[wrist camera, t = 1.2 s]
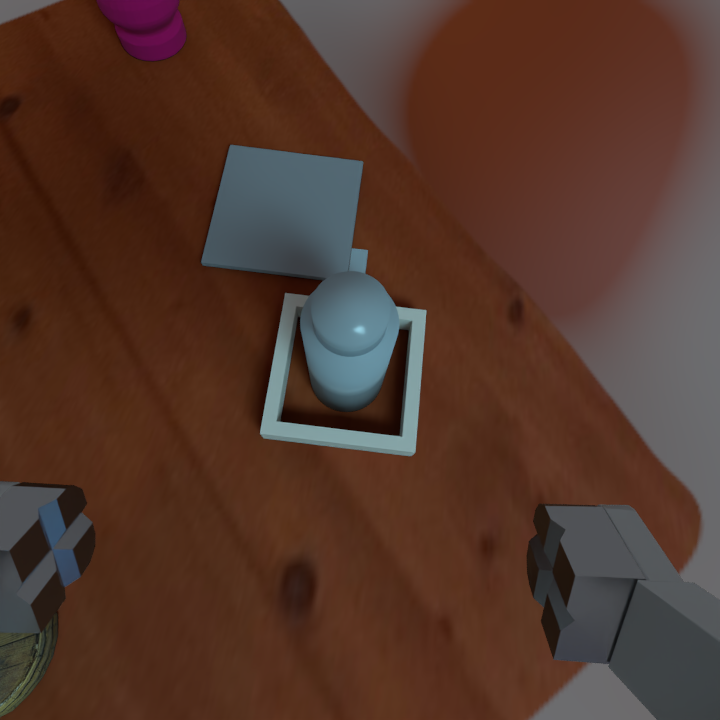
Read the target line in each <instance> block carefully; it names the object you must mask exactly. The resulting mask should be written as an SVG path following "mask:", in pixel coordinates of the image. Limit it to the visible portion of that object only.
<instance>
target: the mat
mask: <svg viewBox="0 0 720 720" xmlns="http://www.w3.org/2000/svg"><path fill="white" fill-rule="evenodd" d="M362 168H363V161H355V160H347V159H340V158H332V157H324V156H316V155H308V154H300V153H292V152H284V151H276V150H268V149H260V148H252V147H244V146H236V145H230V148H229V152H228V156H227V160H226V164H225V168H224V172H223V176H222V180H221V184H220V188H219V192H218V196H217V200H216V204H215V208H214V212H213V216H212V220H211V224H210V228H209V232H208V236H207V240H206V244H205V248H204V252H203V256H202V260H201V263H202V265H203V266H212V267H220V268H228V269H236V270H244V271H252V272H260V273H268V274H276V275H284V276H292V277H300V278H308V279H316V280H325V279H326V278H328V277H330V276H331V275H334V274H336V273H340V272H345V271H348V269H349V262H350V255H351V248H352V240H353V233H354V226H355V219H356V211H357V204H358V197H359V190H360V182H361V175H362Z"/></svg>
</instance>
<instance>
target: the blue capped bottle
mask: <svg viewBox="0 0 720 720" xmlns="http://www.w3.org/2000/svg"><path fill="white" fill-rule="evenodd" d="M367 255H368V250H361V249H353V248H352V252H351V259H350V266H349V271H345V272H340V273H336V274H334V275H331V276H330V277H328V278H326V279H325V280H324V281H322V283H321V284H320V285H319V286H318V287H317V288H316V289H315V290H314V291H313V292H312V293H311V295H310V296H309V297H308V299H307V300H306V302H305V304H304V306H303V309H302V312H301V318H300V328H301V333H302V338H303V344H304V349H305V354H306V359H307V364H308V370H309V375H310V380H311V385H312V388H313V391H314V393H315V395H316V396H317V398H318V399H319V400H320V401H321V402H322V403H323V404H324V405H326V406H327V407H329V408H331V409H333V410H336V411H340V412H353V411H357V410H360V409H363V408H365V407H366V406H368V405H369V404H370V403H371V402H373V400H374V399H375V398H376V397H377V395H378V394H379V391H380V389H381V386H382V383H383V380H384V377H385V373H386V370H387V367H388V364H389V361H390V358H391V355H392V352H393V348H394V345H395V342H396V339H397V336H398V332H399V315H398V311H397V308H396V306H395V304H394V302H393V300H392V299H391V297H390V296H389V295H388V294H387V292H386V290H385V289H384V287H383V286H382V285H381V284H380V283H379V282H378V281H377V280H376V279H374V278H373V277H371V276H369V275H367V274H365V273H366V264H367Z"/></svg>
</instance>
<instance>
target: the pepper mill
mask: <svg viewBox="0 0 720 720" xmlns="http://www.w3.org/2000/svg"><path fill="white" fill-rule="evenodd" d="M96 1H97V3H98V6H99V8H100V10H101V11H102V13H103V14H104V15H105V16H106V17H107V18H108V19H109V20H110V21H111V22H112V23H114V24H115V30H116V32H117V35H118V37H119V39H120V41H121V44H122V46H123V47H124V49H125V50H126V51H127V52H128V53H129V54H130V55H132V56H133V57H135V58H137V59H141V60H144V61H159V60H164V59H167V58H169V57H171V56H173V55H175V54H176V53H177V52H178V51H179V50H180V49H181V48H182V47H183V45H184V43H185V41H186V30H185V27H184V23H183V20H182V17H181V14H180V12H179V11H178V9H177V8H178V5H179V0H96Z"/></svg>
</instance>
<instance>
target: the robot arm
mask: <svg viewBox="0 0 720 720" xmlns="http://www.w3.org/2000/svg"><path fill="white" fill-rule="evenodd" d="M86 505H87V502H86V499H85V496H84V493H83V490H82V489H81V488H79V487H77V486H74V485H60V484H44V483H28V482H22V483H18V482H4V481H0V633H42V632H43V630H44V629H45V627H46V626H47V624H48V623H49V622H50V620H51V619H52V617H53V616H54V614H55V613H56V612H57V610H58V609H59V607H60V606H61V604H62V603H63V602H64V600H65V599H66V596H65V586H67V585H69V584H70V583H72V582H73V581H75V580H76V579H78V578H79V577H81V576H82V574H83V573H84V571H85V569H86V568H87V566H88V565H89V563H90V561H91V558H92V555H93V552H94V549H95V530H94V526H93V523H92V522H91V521H90V520H89V519H88V518H87V517H86V516H85V515H84V514H83V513H82V511H83V509H84V508H85V506H86ZM533 523H534V526H535V528H536V531H537V534H536V535H535V536H534V537H533V538H532V539H531V540H530V541H529V544H528V550H527V575H528V580H529V585H530V588H531V592H532V595H533V598H534V599H535V600H536V601H538V602H539V603H540V604H541V605H542V606H543V607H544V610H543V614H542V619H541V623H542V626H543V629H544V632H545V635H546V638H547V641H548V644H549V647H550V650H551V653H552V656H553V659H554V660H565V661H578V662H590V663H603V664H609V668H610V669H611V670H612V671H613V672H614V673H615V675H616V676H617V677H618V678H619V679H620V680H621V681H622V682H623V683H624V684H625V685H626V686H627V688H628V689H629V690H630V691H631V692H632V693H633V694H634V695H635V696H636V697H637V698H638V699H639V701H641V703H642V704H643V705H644V706H645V707H646V708H647V709H648V710H649V711H650V713H651V714H652V715H653V716H654V717H655V718H656V719H657V720H720V600H719V599H718V598H716V597H715V596H713V595H712V594H710V593H709V592H707V591H706V590H704V589H703V588H701V587H700V586H698V585H697V584H695V583H689V582H684V581H683V580H682V578H681V577H680V575H679V574H678V572H677V571H676V570H675V568H674V567H673V565H672V564H671V562H670V561H669V559H668V558H667V556H666V555H665V553H664V552H663V550H662V549H661V548H660V546H659V545H658V543H657V542H656V540H655V539H654V537H653V536H652V534H651V533H650V531H649V530H648V528H647V527H646V526H645V524H644V523H643V521H642V520H641V518H640V517H639V515H638V514H637V512H636V511H635V510H634V509H633V508H632V507H630V506H629V505H598V506H595V505H569V504H538V506H537V508H536V510H535V514H534V519H533Z"/></svg>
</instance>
